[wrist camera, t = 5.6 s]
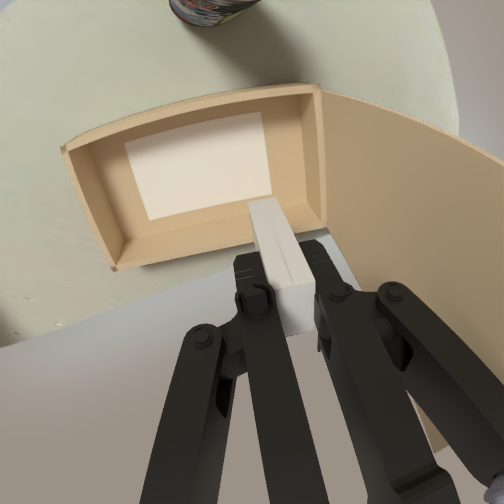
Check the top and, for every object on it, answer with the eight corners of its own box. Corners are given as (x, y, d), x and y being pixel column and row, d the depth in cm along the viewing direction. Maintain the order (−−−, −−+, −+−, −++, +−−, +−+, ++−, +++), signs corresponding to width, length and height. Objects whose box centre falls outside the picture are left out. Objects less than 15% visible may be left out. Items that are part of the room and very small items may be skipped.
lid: (434, 453, 8) (442, 449, 8) (610, 258, 2) (614, 253, 2) (327, 228, 24) (332, 227, 24) (320, 90, 17) (327, 90, 17)
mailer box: (123, 244, 28) (112, 271, 24) (81, 133, 21) (59, 147, 17) (311, 204, 29) (327, 227, 25) (301, 81, 21) (320, 84, 18)
